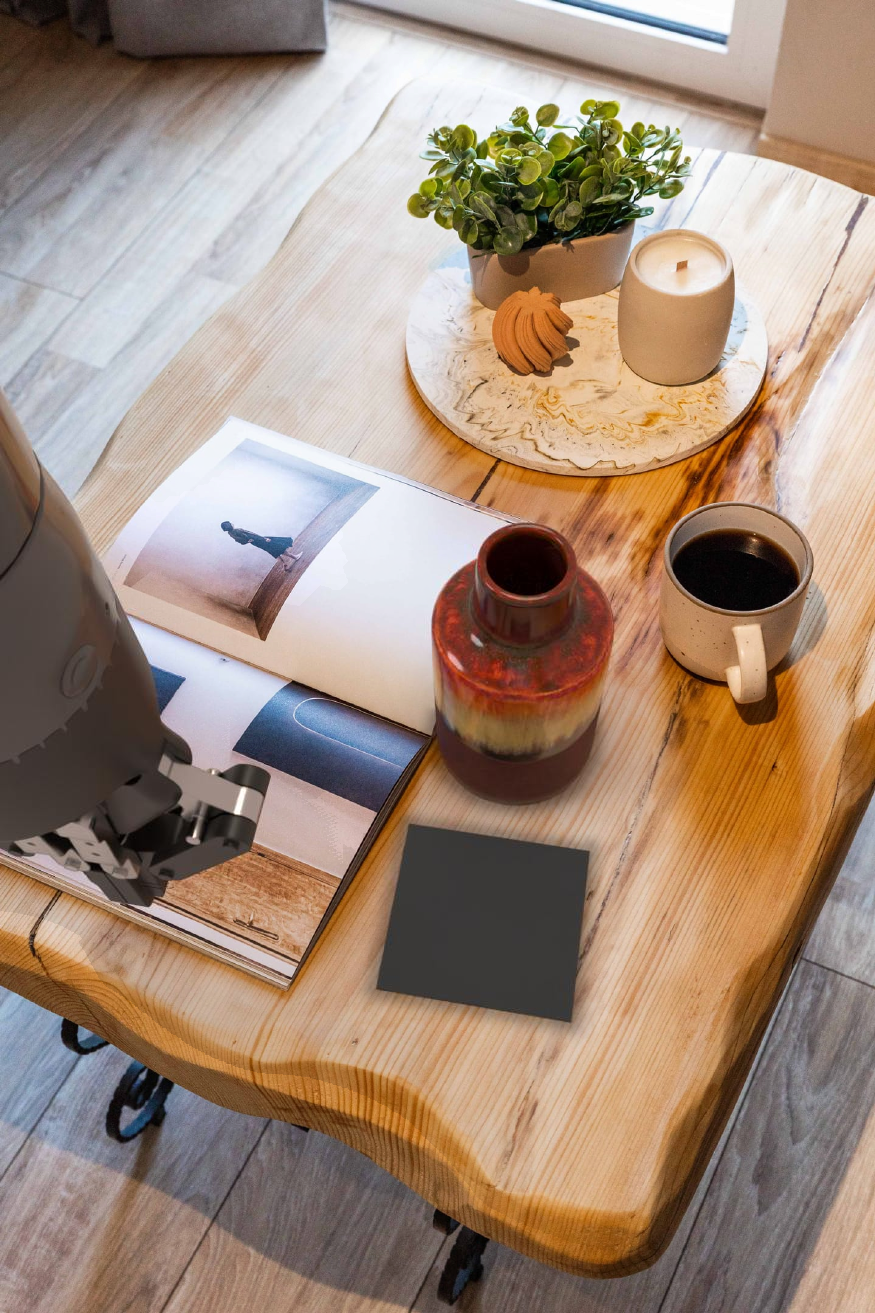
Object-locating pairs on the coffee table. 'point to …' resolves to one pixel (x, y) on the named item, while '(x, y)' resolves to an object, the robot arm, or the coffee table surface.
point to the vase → (519, 666)
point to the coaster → (486, 922)
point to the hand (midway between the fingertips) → (140, 879)
